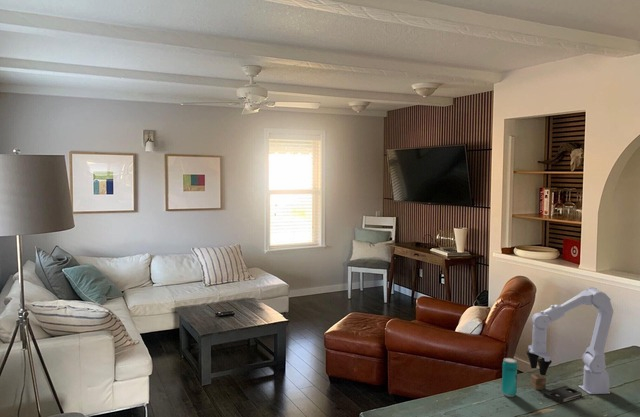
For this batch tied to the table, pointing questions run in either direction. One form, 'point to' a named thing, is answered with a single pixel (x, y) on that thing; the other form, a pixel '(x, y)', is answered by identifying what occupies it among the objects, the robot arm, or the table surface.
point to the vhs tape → (562, 394)
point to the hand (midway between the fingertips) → (538, 371)
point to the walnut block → (537, 381)
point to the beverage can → (509, 377)
